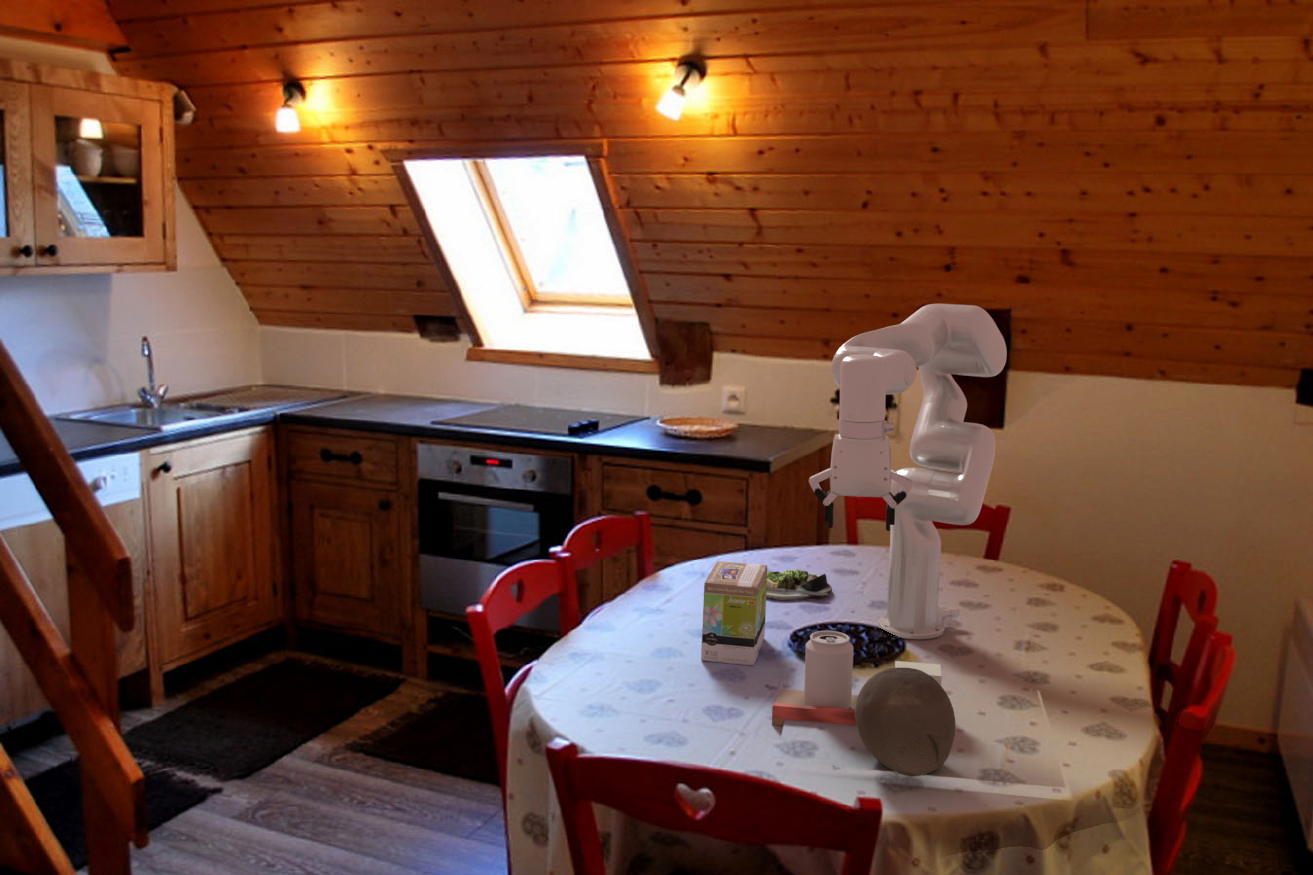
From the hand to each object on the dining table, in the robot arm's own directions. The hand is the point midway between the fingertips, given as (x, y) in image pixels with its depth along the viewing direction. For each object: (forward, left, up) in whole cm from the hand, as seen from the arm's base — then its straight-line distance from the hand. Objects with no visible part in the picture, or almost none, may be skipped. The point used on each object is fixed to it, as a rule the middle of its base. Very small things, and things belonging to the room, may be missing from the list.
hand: (859, 527), depth 207 cm
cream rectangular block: (+1, +22, -25) cm, 33 cm away
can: (+12, +14, -25) cm, 32 cm away
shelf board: (+8, +17, -26) cm, 32 cm away
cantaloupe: (+11, +36, -27) cm, 46 cm away
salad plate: (-11, -47, -27) cm, 56 cm away
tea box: (+15, -17, -27) cm, 35 cm away
